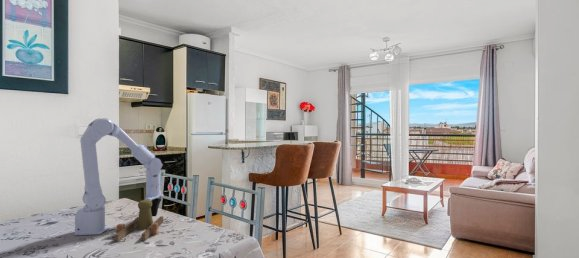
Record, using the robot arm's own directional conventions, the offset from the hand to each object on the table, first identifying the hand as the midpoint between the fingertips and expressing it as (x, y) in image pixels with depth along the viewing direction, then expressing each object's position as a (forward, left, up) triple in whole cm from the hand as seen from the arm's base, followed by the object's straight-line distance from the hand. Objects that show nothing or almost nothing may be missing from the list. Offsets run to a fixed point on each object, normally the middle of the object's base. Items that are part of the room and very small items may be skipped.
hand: (153, 215), depth 136 cm
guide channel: (0, -15, -2) cm, 15 cm away
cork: (0, -10, -2) cm, 10 cm away
